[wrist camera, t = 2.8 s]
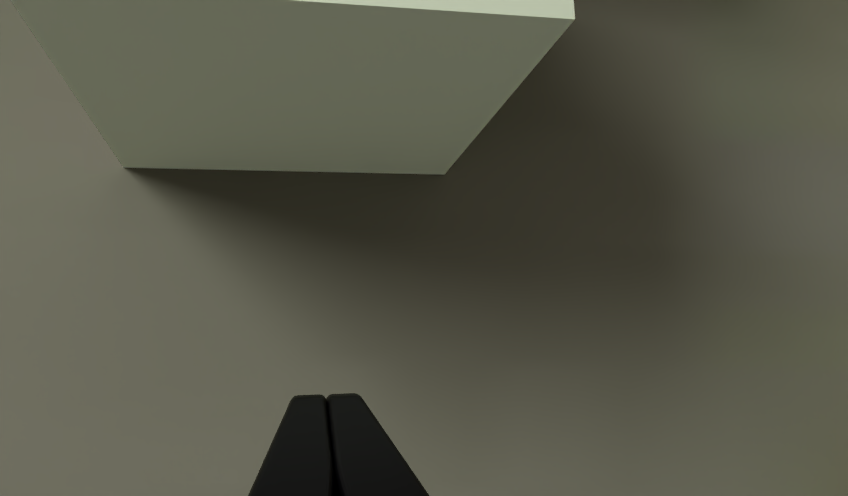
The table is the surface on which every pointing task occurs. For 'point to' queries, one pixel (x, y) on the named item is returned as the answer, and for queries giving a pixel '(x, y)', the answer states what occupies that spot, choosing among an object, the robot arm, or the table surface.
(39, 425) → the table surface
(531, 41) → the green block
